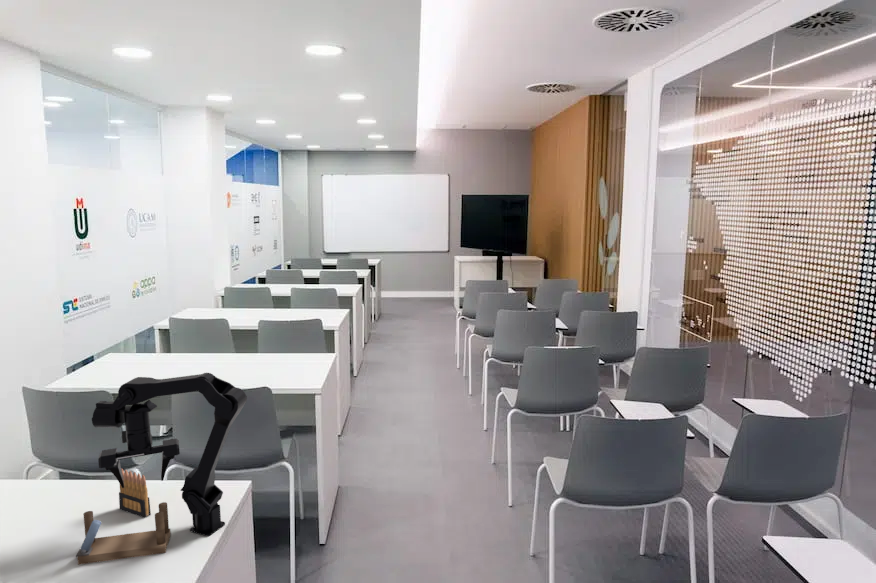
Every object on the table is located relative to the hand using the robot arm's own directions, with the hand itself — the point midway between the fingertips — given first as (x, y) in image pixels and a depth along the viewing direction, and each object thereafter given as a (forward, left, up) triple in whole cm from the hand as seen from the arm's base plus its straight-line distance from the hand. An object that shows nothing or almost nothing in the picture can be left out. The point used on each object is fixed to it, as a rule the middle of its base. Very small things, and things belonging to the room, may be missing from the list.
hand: (143, 483), depth 157 cm
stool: (-4, +10, -12) cm, 16 cm away
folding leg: (+2, +17, -10) cm, 19 cm away
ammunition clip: (+9, -5, -13) cm, 16 cm away
